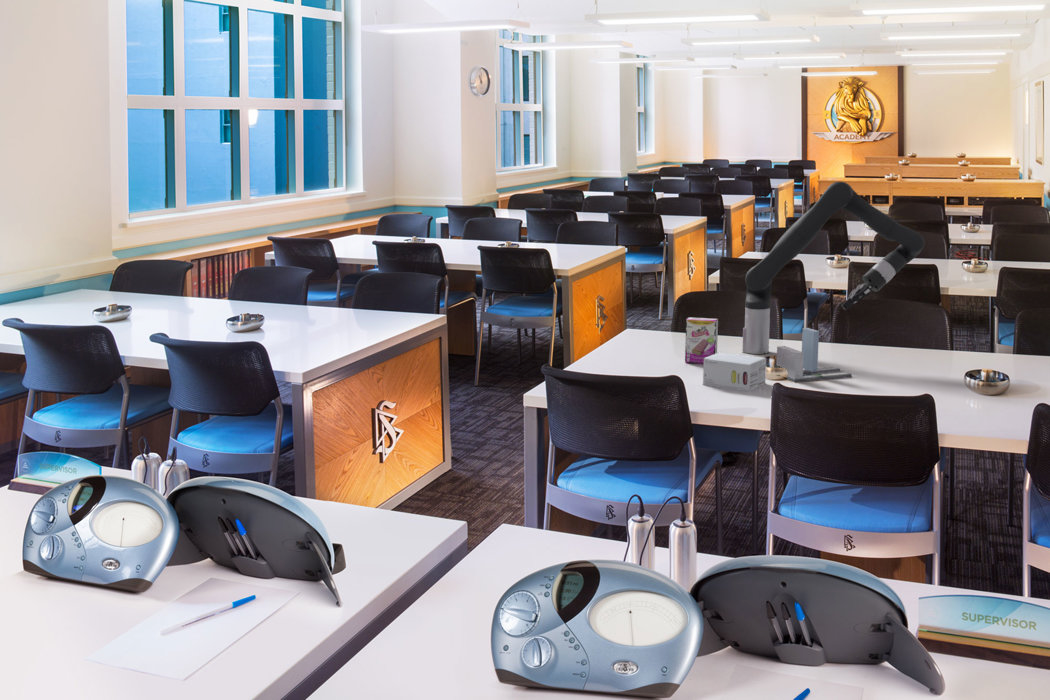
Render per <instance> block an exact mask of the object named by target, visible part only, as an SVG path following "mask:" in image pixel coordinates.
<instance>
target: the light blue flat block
mask: <svg viewBox="0 0 1050 700" xmlns="http://www.w3.org/2000/svg"><path fill="white" fill-rule="evenodd" d="M819 339H820V330H816V329H812V328H811V327H810V328H809V327H802V336H801V352H804V357H803V370H805V369H806V370H808V371H811V372H814V373H816V374H818V375H821V373H818V372H817V368H818V363H819V341H820V340H819Z"/></svg>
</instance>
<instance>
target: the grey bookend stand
mask: <svg viewBox="0 0 1050 700" xmlns="http://www.w3.org/2000/svg"><path fill="white" fill-rule="evenodd" d="M803 357H804V352H802V350H798V349H794V348H792V347H789V346H786V345H782V346H781V345H780V346H776V365H777V366H780V367H782V368H785V369H786V370H787V372H788V374H787V379H786V380H788V381H790V382H793V383H800V382H801V383H802V382H812V381H811V380H814V381H820V380H819V379H825V380H833V379H834V378H836V379H844V378H843V377H847V378H853V377H852V373H850V372H847V371H844V370H841V368H840V367H833V366H832V367H830V366H829V367H819V368H818V367H817V372H818V373H821V375H818V374H816V373H814V372H811V371H808V370H806V369H803ZM834 380H835V379H834Z"/></svg>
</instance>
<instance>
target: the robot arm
mask: <svg viewBox="0 0 1050 700" xmlns="http://www.w3.org/2000/svg"><path fill="white" fill-rule="evenodd" d="M840 209H842V210H843V211H846V212H848V213H850V214H852V215H853V216H855V217H856V218H858V219H859V220H860V221H862V222H863V223H864V224H865V225H867V226H868V227H869V228H870V229H871V230H872V231H873V232H875V233H876V234H878V235H879V236H881V237H882V238H884V239H885V240H887V241H889V242H897V243H898V245H899V246H897V247H896V248H895V249H894V250H893V251H891V252H889V253H888V254H887V255H886V256H884V257H883V258H882V259H881V260H879V261H878V262H877V263H876V264H875V265H872V267H871V268H870V269H869V270H868V271H867V272H866V273H864V274H863V275H862V277H861V279H862V280H861V281H862V284H861V283H860V284H859V285H857V286H856V288H854V289H852V290H851V291H850V293H849V294H848V296H847V300H845V301H844V302H843V303H842V304H841V306H840V307H841V308H842V309H843V310H844V311H846V310H849V309H850V307H852V306H853V305H854V304H856V303H858V302H861V300H863V299H865V298H866V297H868V296H869V295H871V294H872V291H873V292H875V293H876V292H879V291H880V290H881V289H882V288H883V287H884V286H886V285H887V284H888V283H889V282H890V281H891V280H892V279H893V278H894V276H895V275H896V274H898V273H899V272H900V271H901V270H902V269H903V268H904V267H905V266H906V265H907V264H910V262H911V261H913V260H914V259H915V258H917V256H919V254H920V253H921V252H922V250H923V249H924V247H925V244H926V243H925V242H926V241H925V238H924V237H923V236H922V234H920V233H919V232H917V231H916V230H914V229H912V228H909V227H907V226H905V225H902V224H901V223H899V222H898V221H896V220H895V219H894V218H892V217H891V216H890V215H887V214H886V213H884V212H883V211H882V210H879V209H878V208H877V207H875V206H873V205H871V204H870V203H869V202H867V201H866V200H864V198H863V197H861V196H860V195H859V194H858V193H857V192H856V191H855V190H854V189H853V187H852V186H851V185H850V184H849V183H847V182H844V181H835V182H833V183H831V184H830V185H829V186H827V188H826V189H825V191H824V192H823V193H822V195H821V196H820V197H819V198H818V200H817V201H816V202H815V203H814V205H813V206H812V207H810V209H809V210H807V211H806V212H805V213H803V214H802V216H801V217H799V218H798V219H797V220H796V221H795V222H794V223H793V224H792V225H791V226H790V227H789V228H788V229H787V230H786V231H785V232H784V233H783V235H782V236H781V237H780V238H778V241H776V243H775V245H774V246H773V247H772V249H771V250H770V251H769V253H768V254H766V256H765V257H764V258H762V260H760V261H759V262H758V263H757V264H756V265H754V266H752V267H750V269H748V271H747V272H746V274H745V279H744V280H745V285H746V295H745V302H744V303H745V304H744V305H745V306H744V309H745V311H744V313H745V314H744V327H743V328H742V353H746V354H753V355H763V354H764V353H765V354H768V353H769V352H770V351H769V350H770V349H769V348H770V323H771V322H770V321H771V319H770V317H771V301H772V281H773V279H774V278H775V276H777V274H778V273H779V272H780V271H781V270H782V269H783V268H784V267H785V266H786V265H788V263H790V262H791V261H792V260H794V258H796V257H798V255H800V254H801V253H802V252H803V251H804V250H805V248H807V247H808V246H809V245H810V243H811V242H812V241H813V240H814V239H815V238H816V236H817V235H818V234H819V233H820V231H821V229H822V228H823V227H824V225H825V224H826V222H827V221H828V220H829V219H830V218H831V217H832V216H833V215H834V214H836V213H837V212H838V211H840Z"/></svg>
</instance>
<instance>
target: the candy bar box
mask: <svg viewBox="0 0 1050 700" xmlns="http://www.w3.org/2000/svg"><path fill="white" fill-rule="evenodd" d="M685 320H686V321H685V345H684V346H685V349H684V350H685V351H684V352H685V354H684V355H685V356H684V363H686V364H697V365H699V364H700V365H701V364H702V365H704V358H706V357H708V356H711V355H714V354H716V353H718V331H719V329H718V327H719V319H718V318H706V317H692V316H691V317H689V316H688V317H687V318H686V319H685Z"/></svg>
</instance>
